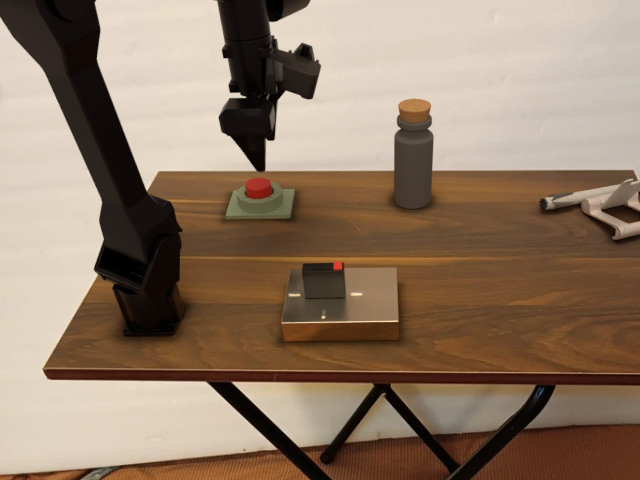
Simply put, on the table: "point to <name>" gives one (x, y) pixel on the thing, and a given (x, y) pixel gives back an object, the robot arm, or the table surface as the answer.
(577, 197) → the rocket model
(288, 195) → the switch block
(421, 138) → the bottle
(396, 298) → the panel
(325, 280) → the stove knob
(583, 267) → the table surface
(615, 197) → the tablet stand
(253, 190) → the button
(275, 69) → the robot arm
